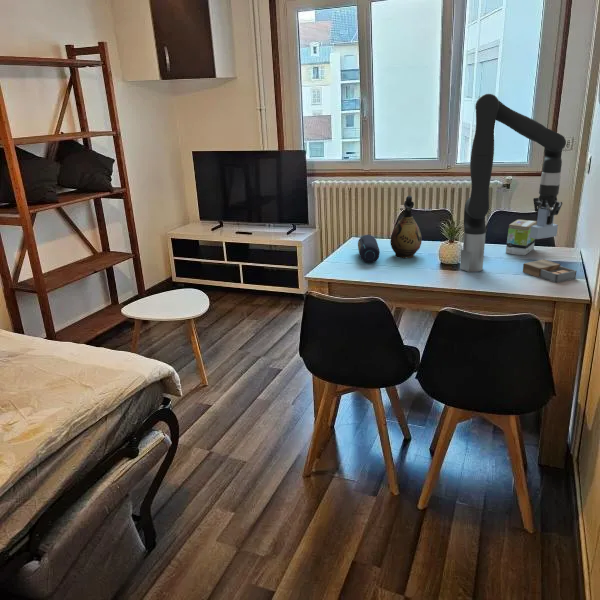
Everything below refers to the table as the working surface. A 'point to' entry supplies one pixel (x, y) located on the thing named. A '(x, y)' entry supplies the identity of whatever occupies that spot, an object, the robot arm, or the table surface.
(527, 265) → the flat wooden box
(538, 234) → the scraper block
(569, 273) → the tray
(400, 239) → the ceramic jug
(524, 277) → the table surface
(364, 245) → the portable speaker
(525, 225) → the tea box
